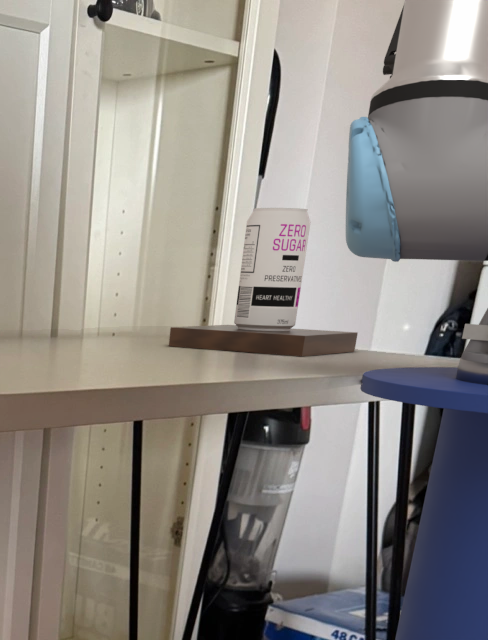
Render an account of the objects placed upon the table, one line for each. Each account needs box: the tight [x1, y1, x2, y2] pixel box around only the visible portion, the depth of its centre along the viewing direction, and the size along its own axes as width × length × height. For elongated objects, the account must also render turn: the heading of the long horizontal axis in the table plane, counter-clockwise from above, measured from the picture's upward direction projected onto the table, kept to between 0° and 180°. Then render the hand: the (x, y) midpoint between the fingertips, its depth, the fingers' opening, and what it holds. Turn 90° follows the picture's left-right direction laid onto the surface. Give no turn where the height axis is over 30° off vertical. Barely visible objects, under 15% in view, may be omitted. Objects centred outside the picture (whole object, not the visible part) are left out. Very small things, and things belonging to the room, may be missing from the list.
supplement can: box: [233, 207, 312, 331], centre depth 139 cm, size 8×8×15 cm
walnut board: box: [168, 324, 359, 357], centre depth 143 cm, size 20×16×2 cm
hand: (411, 138), depth 138 cm, fingers open, 13 cm apart
